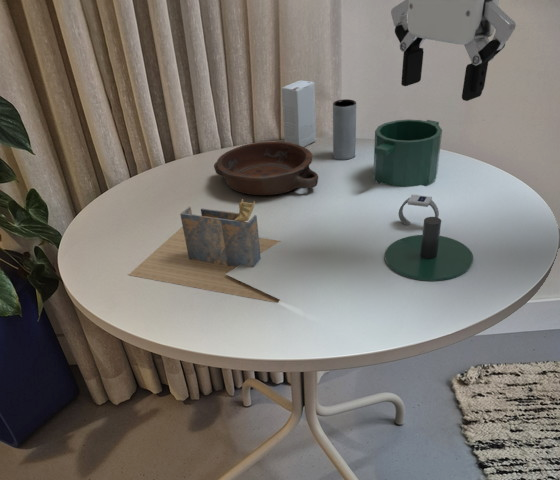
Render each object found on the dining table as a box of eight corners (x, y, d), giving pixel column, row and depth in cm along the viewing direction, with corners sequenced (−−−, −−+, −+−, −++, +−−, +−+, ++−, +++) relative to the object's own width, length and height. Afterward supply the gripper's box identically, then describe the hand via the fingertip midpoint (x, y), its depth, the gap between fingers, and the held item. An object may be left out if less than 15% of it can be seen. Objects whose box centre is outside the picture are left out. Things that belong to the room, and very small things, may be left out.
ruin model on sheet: (318, 246, 91) (317, 186, 84) (277, 302, 80) (272, 239, 73) (182, 226, 99) (171, 171, 93) (128, 274, 88) (111, 215, 81)
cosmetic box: (301, 138, 128) (299, 78, 120) (317, 141, 125) (316, 81, 117) (283, 146, 124) (279, 86, 116) (299, 150, 122) (296, 89, 114)
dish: (238, 160, 120) (236, 135, 117) (337, 172, 112) (336, 146, 109) (194, 194, 109) (189, 168, 106) (299, 210, 101) (298, 182, 97)
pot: (455, 168, 110) (461, 122, 104) (405, 200, 101) (409, 151, 95) (404, 155, 116) (407, 111, 110) (352, 184, 107) (353, 138, 102)
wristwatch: (396, 229, 93) (398, 199, 90) (400, 221, 95) (402, 192, 92) (434, 234, 91) (437, 204, 88) (438, 226, 93) (441, 197, 90)
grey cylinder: (339, 161, 116) (339, 107, 109) (329, 154, 119) (328, 102, 112) (359, 156, 117) (360, 103, 110) (348, 150, 120) (349, 97, 114)
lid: (488, 256, 85) (496, 215, 81) (442, 294, 78) (448, 251, 74) (414, 233, 92) (418, 193, 87) (367, 266, 85) (369, 225, 81)
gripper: (553, -81, 59) (516, 97, 70) (421, -82, 69) (407, 73, 81) (509, -74, 56) (478, 112, 67) (378, -76, 66) (370, 85, 77)
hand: (439, 90), depth 74 cm, fingers open, 9 cm apart
